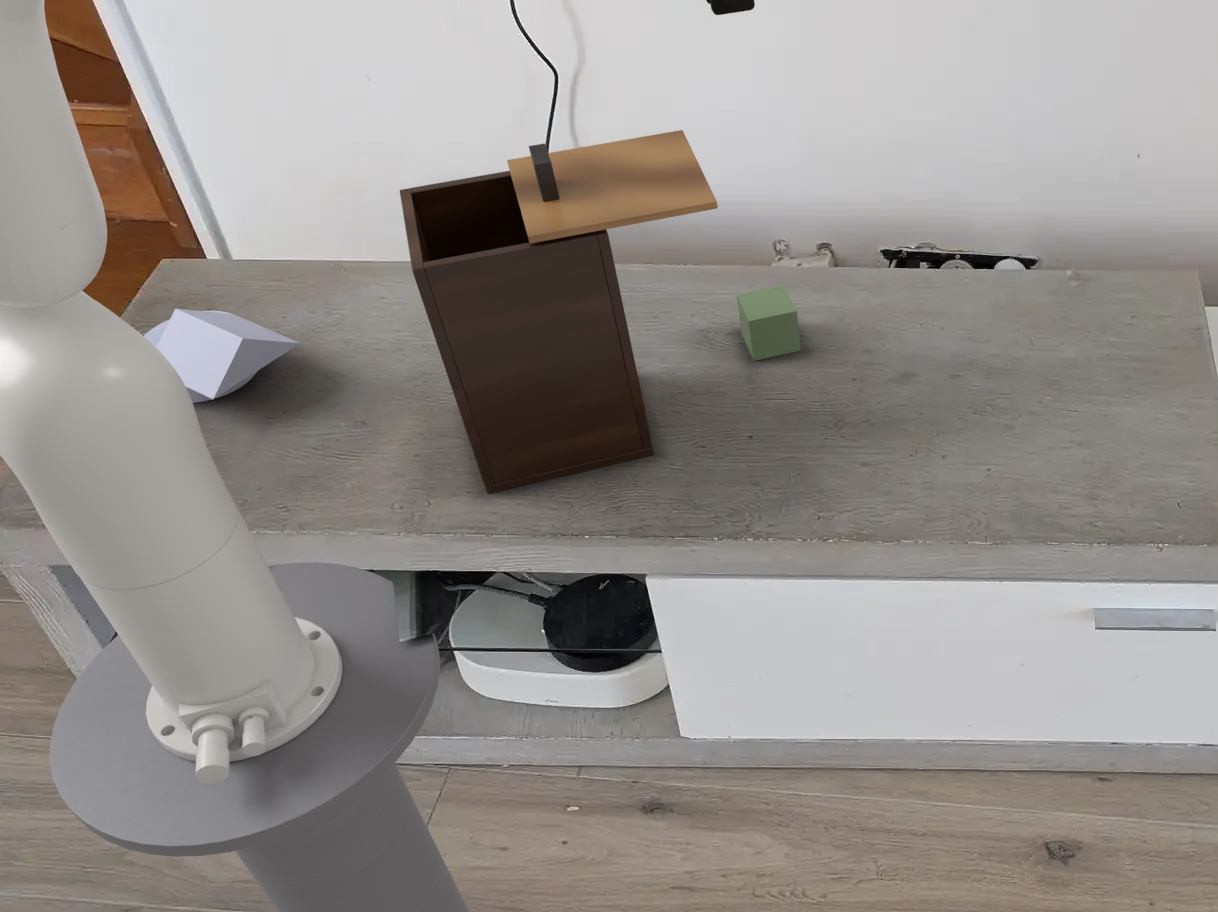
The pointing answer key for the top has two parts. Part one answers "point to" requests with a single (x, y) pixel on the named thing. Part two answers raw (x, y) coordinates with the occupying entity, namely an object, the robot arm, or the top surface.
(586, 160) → the lid
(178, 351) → the white faceted chunk
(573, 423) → the box
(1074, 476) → the top surface
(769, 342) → the block
